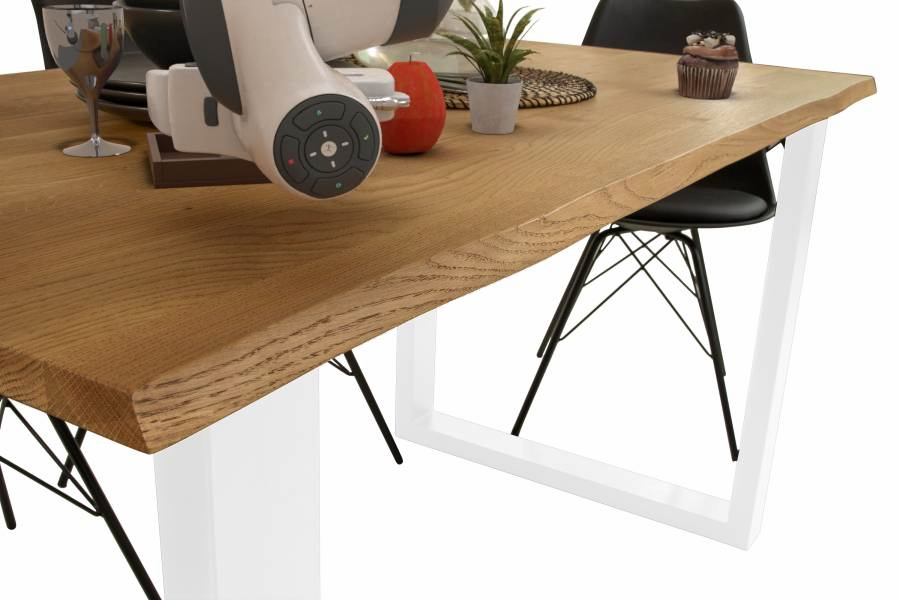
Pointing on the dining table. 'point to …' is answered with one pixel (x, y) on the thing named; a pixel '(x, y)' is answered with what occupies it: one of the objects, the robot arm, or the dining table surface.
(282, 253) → the dining table surface
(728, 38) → the cupcake
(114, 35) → the wine glass
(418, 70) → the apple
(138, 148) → the dining table surface
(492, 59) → the house plant
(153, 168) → the tray
